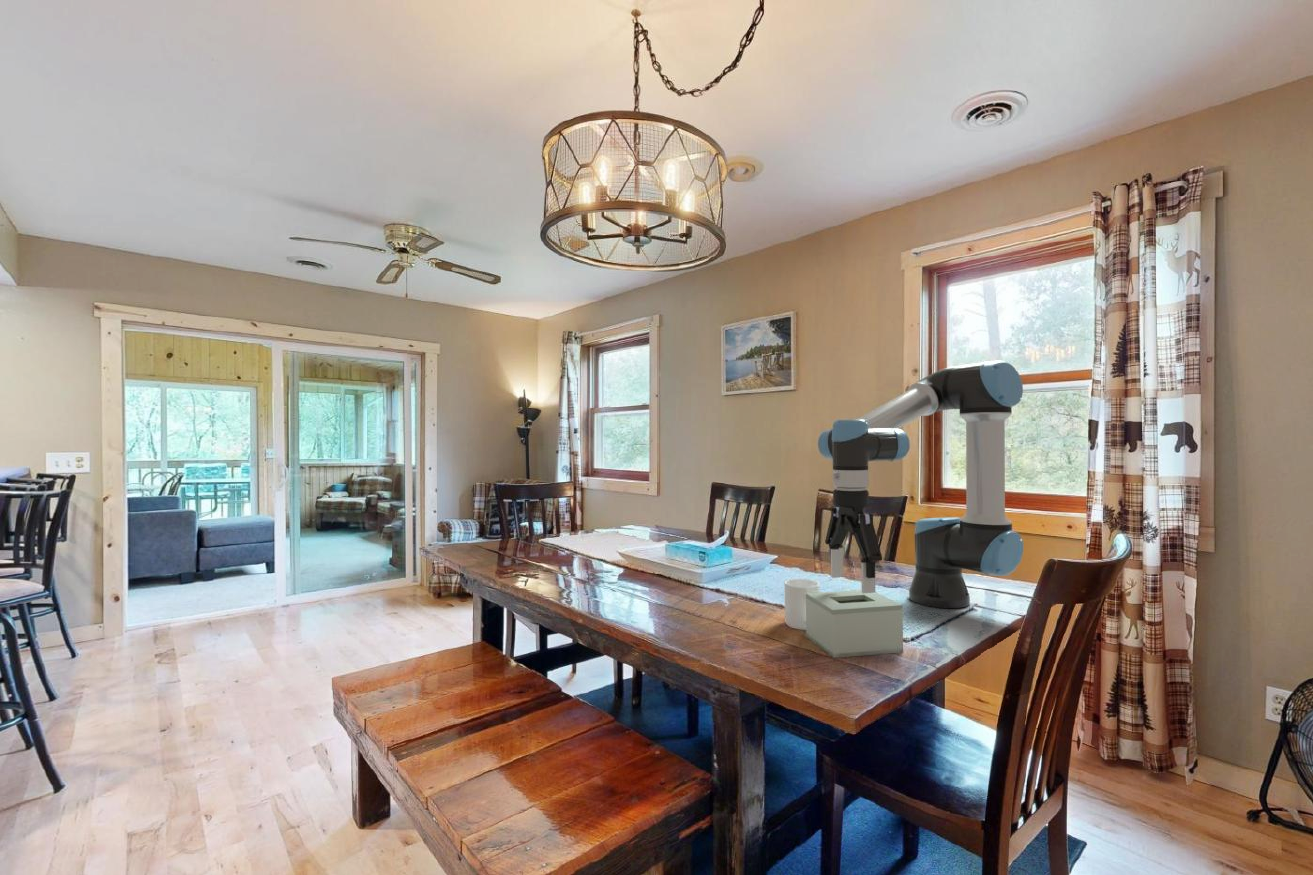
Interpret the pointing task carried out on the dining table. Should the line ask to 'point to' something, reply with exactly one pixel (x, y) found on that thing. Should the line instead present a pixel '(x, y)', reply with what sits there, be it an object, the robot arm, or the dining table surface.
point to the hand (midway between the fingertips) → (852, 584)
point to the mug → (798, 601)
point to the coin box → (854, 623)
